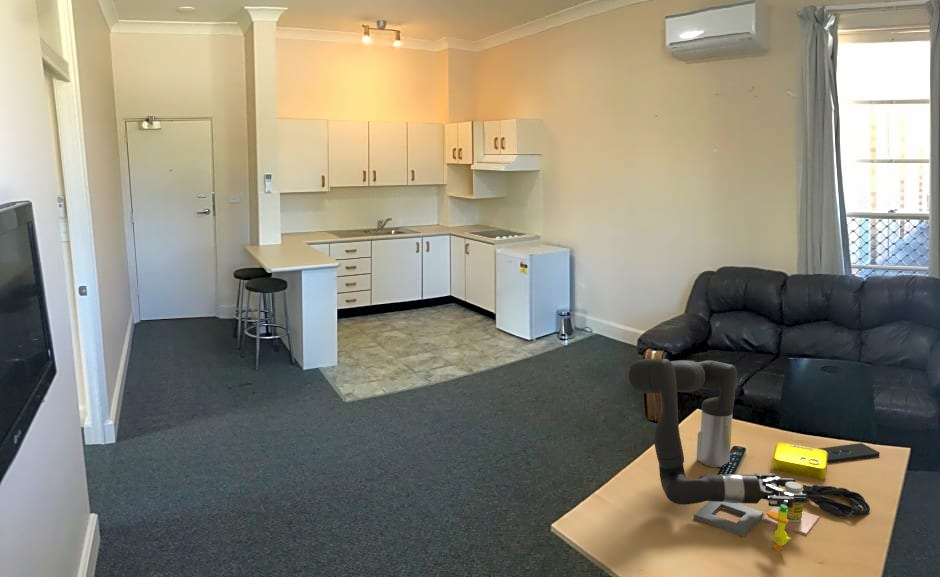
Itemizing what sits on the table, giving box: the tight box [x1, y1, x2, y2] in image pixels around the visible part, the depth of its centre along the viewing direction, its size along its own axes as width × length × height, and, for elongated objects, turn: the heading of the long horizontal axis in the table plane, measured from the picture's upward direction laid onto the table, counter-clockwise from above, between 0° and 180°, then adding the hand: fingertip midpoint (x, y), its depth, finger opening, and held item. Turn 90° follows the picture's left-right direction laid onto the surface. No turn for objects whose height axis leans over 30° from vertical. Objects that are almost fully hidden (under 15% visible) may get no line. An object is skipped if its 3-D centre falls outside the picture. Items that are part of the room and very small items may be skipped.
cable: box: [801, 484, 871, 518], centre depth 189 cm, size 17×14×4 cm
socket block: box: [693, 501, 764, 538], centre depth 183 cm, size 14×14×1 cm
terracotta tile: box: [762, 507, 820, 536], centre depth 181 cm, size 11×11×1 cm
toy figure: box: [765, 504, 792, 552], centre depth 167 cm, size 7×4×12 cm, turn 37°
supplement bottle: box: [783, 481, 804, 522], centre depth 180 cm, size 5×5×10 cm
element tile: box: [771, 441, 828, 481], centre depth 212 cm, size 15×15×5 cm
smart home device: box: [818, 443, 881, 464], centre depth 219 cm, size 8×2×20 cm
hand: (800, 490), depth 179 cm, fingers open, 8 cm apart
